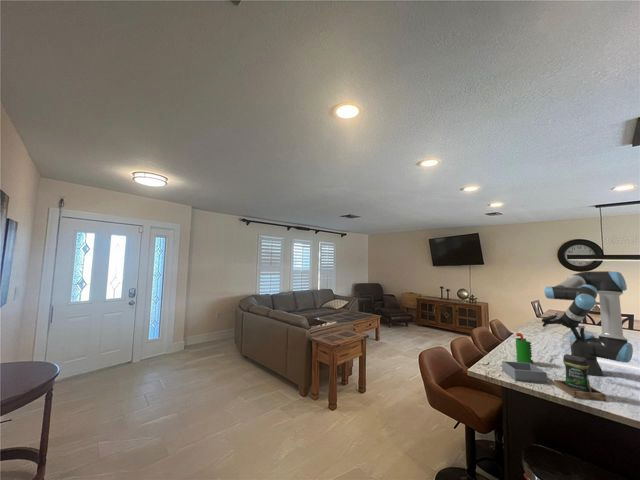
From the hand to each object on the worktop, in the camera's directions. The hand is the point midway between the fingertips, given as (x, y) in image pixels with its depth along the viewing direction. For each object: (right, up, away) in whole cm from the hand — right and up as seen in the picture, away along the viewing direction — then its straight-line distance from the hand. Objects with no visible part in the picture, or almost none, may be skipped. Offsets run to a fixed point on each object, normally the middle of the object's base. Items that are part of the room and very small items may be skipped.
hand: (556, 336), depth 158 cm
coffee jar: (-11, -21, -24) cm, 33 cm away
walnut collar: (-11, -20, -24) cm, 33 cm away
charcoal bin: (-23, -23, -4) cm, 33 cm away
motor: (-3, -27, +21) cm, 34 cm away
